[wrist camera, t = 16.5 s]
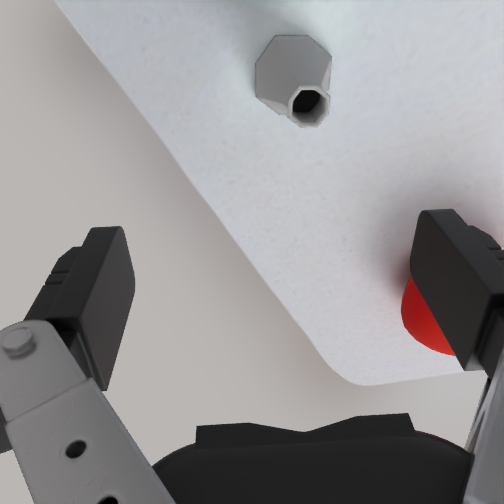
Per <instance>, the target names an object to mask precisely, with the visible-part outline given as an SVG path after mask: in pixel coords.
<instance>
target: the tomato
mask: <svg viewBox="0 0 504 504" xmlns="http://www.w3.org/2000/svg"><path fill="white" fill-rule="evenodd" d="M401 315H402V320H403V324H404V327H405V328H406V329H407V330H408V332H409V333H410V334H411V335H412V336H413V337H414V338H415V339H416V340H417V341H419V342H420V343H422V344H424V345H425V346H427V347H428V348H430V349H432V350H435V351H437V352H440V353H444V354H448V355H453V356H455V354H454V352H453V350H452V349H451V347H450V345H449V343H448V341H447V340H446V338H445V336H444V334H443V333H442V331H441V329H440V327H439V325H438V324H437V322H436V320H435V318H434V317H433V315H432V313H431V311H430V310H429V308H428V306H427V304H426V302H425V301H424V299H423V297H422V295H421V294H420V292H419V290H418V288H417V287H416V285H415V283H414V281H413V279H412V276H411V278H410V279H409V281H408V283H407V286H406V288H405V291H404V294H403V297H402V304H401Z"/></svg>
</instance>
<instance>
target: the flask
mask: <svg viewBox="0 0 504 504" xmlns="http://www.w3.org/2000/svg"><path fill="white" fill-rule="evenodd" d="M331 61H332V56H331V55H330V54H329V53H328V52H326V51H325V50H324V49H323V48H322V47H321V46H319V45H318V44H317V43H316V42H315V41H314V40H313V39H311V38H310V37H309V36H308V35H304V36H275V37H274V38H273V40H272V41H271V43H270V44H269V45H268V47H267V48H266V50H265V51H264V53H263V54H262V56H261V57H260V58H259V60H258V61H257V63H256V98H258V99H259V100H260V101H262V102H263V103H264V104H266V105H267V106H268V107H270V108H271V109H272V110H274V111H275V112H276V113H277V114H279V115H287V117H288V118H289V119H290V120H291V121H293V122H294V123H295V124H297V125H298V126H299V127H300V128H311V127H318V126H319V125H320V124H321V122H322V121H323V120H324V119H325V118H326V116H327V115H328V114H329V105H330V95H329V94H328V93H327V91H328V90H329V83H330V72H331Z"/></svg>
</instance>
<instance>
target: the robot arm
mask: <svg viewBox="0 0 504 504" xmlns="http://www.w3.org/2000/svg"><path fill="white" fill-rule="evenodd" d="M410 272H411V276H412V279H413V281H414V283H415V285H416V287H417V288H418V290H419V292H420V294H421V295H422V297H423V299H424V301H425V302H426V304H427V306H428V308H429V310H430V311H431V313H432V315H433V317H434V318H435V320H436V322H437V324H438V325H439V327H440V329H441V331H442V333H443V334H444V336H445V338H446V340H447V341H448V343H449V345H450V347H451V349H452V350H453V352H454V354H455V356H456V357H457V359H458V361H459V363H460V364H461V366H462V368H463V370H464V371H473V370H485V372H486V373H487V375H488V377H487V380H486V382H485V385H484V388H483V391H482V394H481V397H480V400H479V403H478V407H477V410H476V413H475V416H474V419H473V422H472V426H471V429H470V432H469V435H468V438H467V442H466V444H465V447H464V449H463V448H461V447H460V446H458V445H455V444H454V443H452V442H450V441H448V440H445V439H443V438H440V437H438V436H435V435H432V434H428V433H425V432H421V431H416V430H415V429H414V427H413V424H412V422H411V419H410V416H409V414H408V413H402V414H386V415H369V416H356V417H353V418H349V419H346V420H343V421H340V422H337V423H334V424H331V425H327V426H324V427H321V428H318V429H315V430H312V431H307V432H299V431H293V430H287V429H281V428H276V427H270V426H264V425H259V424H253V423H236V424H221V425H220V424H219V425H203V426H197V430H196V442H195V443H194V444H190V445H187V446H185V447H183V448H181V449H178V450H176V451H174V452H172V453H171V454H169V455H167V456H165V457H164V458H162V459H161V460H160V461H158V462H157V463H155V464H154V465H153V466H151V465H150V464H149V462H148V461H147V459H146V458H145V456H144V455H143V453H142V452H141V450H140V449H139V447H138V446H137V444H136V443H135V441H134V440H133V438H132V437H131V435H130V434H129V432H128V430H127V429H126V427H125V426H124V424H123V423H122V421H121V420H120V418H119V417H118V416H117V414H116V412H115V411H114V409H113V408H112V407H111V405H110V403H109V402H108V400H107V399H106V397H105V396H104V395H103V393H102V391H107V389H108V385H109V382H110V378H111V375H112V371H113V367H114V364H115V360H116V357H117V354H118V350H119V347H120V343H121V340H122V336H123V333H124V329H125V325H126V322H127V319H128V315H129V311H130V308H131V304H132V301H133V297H134V293H135V276H134V271H133V266H132V262H131V258H130V254H129V250H128V246H127V241H126V237H125V233H124V230H123V228H122V227H121V226H112V227H95V228H91V229H90V231H89V233H88V235H87V237H86V239H85V241H84V243H83V245H82V246H81V247H72V248H71V249H70V250H69V251H67V252H66V253H65V254H64V255H62V256H61V257H60V258H59V259H58V261H57V262H56V264H55V266H54V268H53V270H52V271H51V274H50V275H49V276H48V278H47V280H46V282H45V285H44V286H43V287H42V289H41V290H40V292H39V294H38V296H37V298H36V299H35V301H34V303H33V305H32V306H31V308H30V310H29V312H28V313H27V315H26V317H25V318H24V320H23V321H21V322H18V323H15V324H12V325H10V326H8V327H6V328H4V329H2V330H1V331H0V453H3V452H6V451H9V450H11V449H13V451H14V453H15V456H16V458H17V461H18V463H19V466H20V468H21V471H22V473H23V476H24V478H25V481H26V484H27V486H28V489H29V491H30V494H31V496H32V499H33V501H34V504H504V250H501V247H500V246H499V245H498V244H497V242H496V241H495V240H494V239H493V238H492V237H491V236H490V235H488V234H486V233H485V232H483V231H481V230H479V229H478V228H476V227H474V226H468V225H467V224H466V223H465V222H464V221H463V219H462V218H461V217H460V216H459V215H458V214H457V213H456V212H455V211H454V210H453V209H436V210H423V211H422V212H421V213H420V215H419V217H418V221H417V226H416V231H415V236H414V241H413V246H412V251H411V256H410Z"/></svg>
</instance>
